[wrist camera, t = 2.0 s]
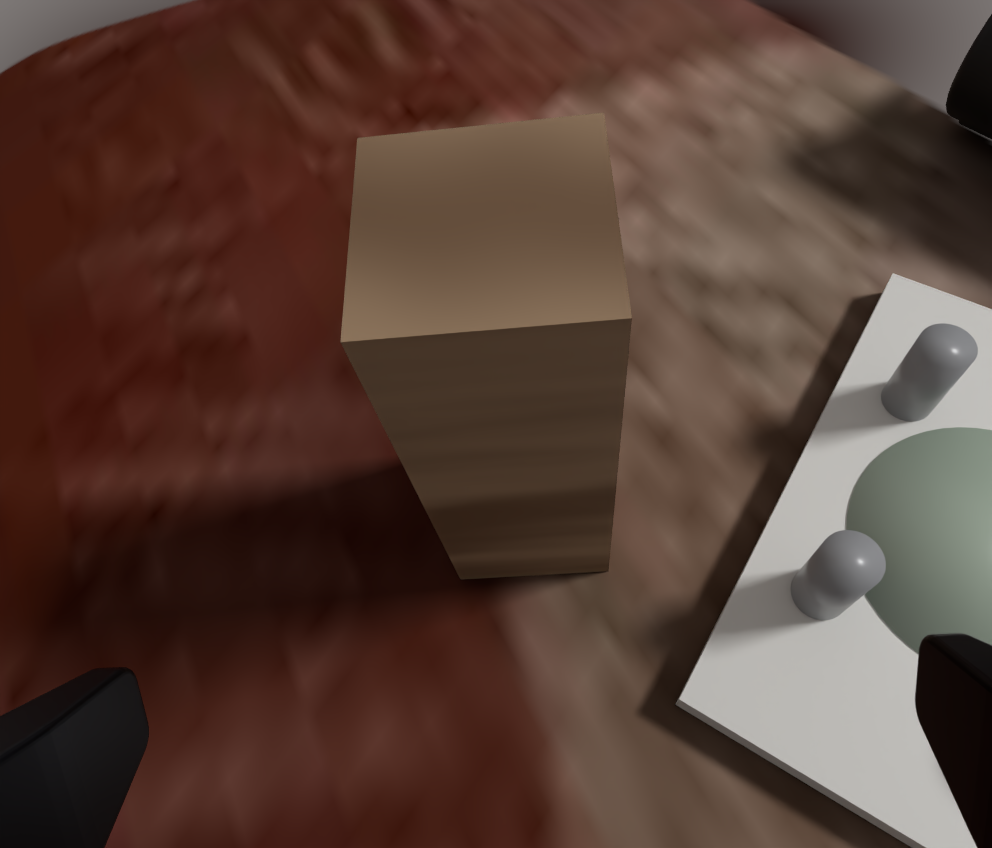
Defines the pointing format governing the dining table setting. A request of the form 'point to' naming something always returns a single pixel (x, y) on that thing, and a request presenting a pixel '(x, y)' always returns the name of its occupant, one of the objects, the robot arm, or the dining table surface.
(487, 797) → the dining table surface
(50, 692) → the robot arm
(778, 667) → the plate
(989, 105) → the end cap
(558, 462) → the walnut post
